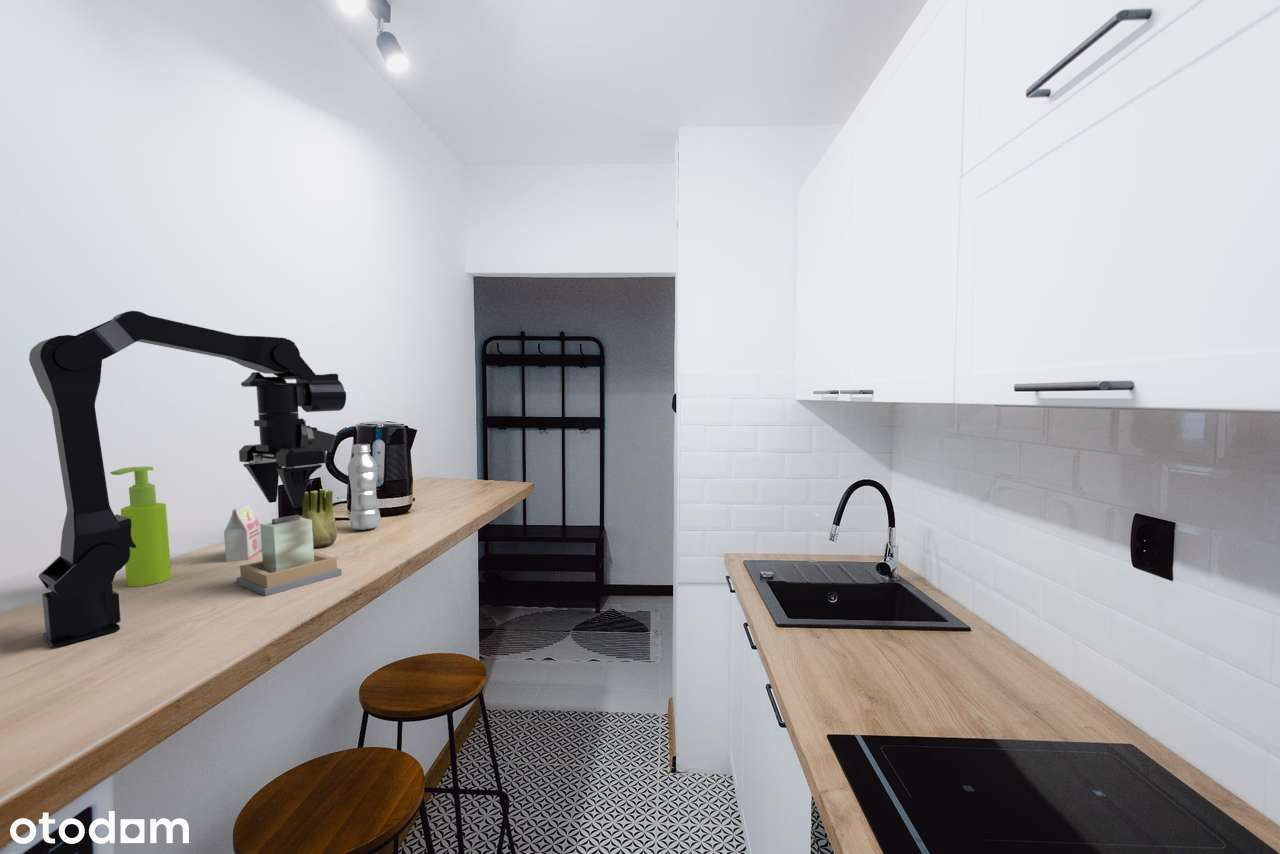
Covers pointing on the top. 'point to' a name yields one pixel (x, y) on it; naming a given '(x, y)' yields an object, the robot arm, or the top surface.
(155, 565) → the soap dispenser
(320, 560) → the rectangular tray
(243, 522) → the milk carton
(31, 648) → the top surface
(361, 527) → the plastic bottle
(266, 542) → the cabinet block
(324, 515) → the fennel bulb
